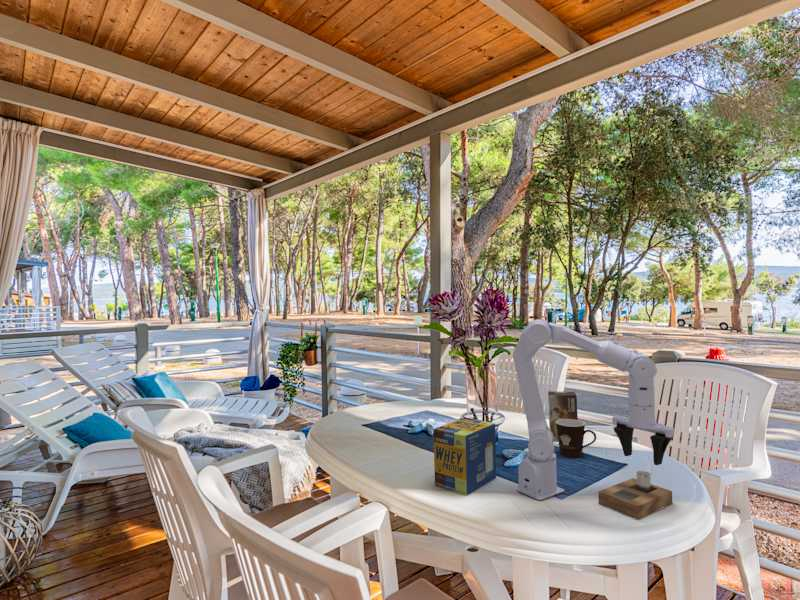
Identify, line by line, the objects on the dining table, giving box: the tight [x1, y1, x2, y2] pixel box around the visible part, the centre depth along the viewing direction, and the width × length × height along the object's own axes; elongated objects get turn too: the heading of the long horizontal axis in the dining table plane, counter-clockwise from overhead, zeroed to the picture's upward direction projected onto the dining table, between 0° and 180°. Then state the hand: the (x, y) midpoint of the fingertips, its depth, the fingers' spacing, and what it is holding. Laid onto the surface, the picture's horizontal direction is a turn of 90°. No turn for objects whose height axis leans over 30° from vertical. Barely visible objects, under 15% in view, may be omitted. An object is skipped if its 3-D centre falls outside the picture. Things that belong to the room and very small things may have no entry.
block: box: [597, 477, 673, 520], centre depth 115 cm, size 14×10×3 cm
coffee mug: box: [556, 419, 597, 459], centre depth 149 cm, size 12×9×10 cm
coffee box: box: [547, 390, 579, 442], centre depth 166 cm, size 9×6×16 cm
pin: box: [636, 470, 652, 493], centre depth 117 cm, size 3×3×6 cm
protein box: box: [433, 417, 497, 496], centre depth 131 cm, size 10×15×16 cm
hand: (642, 459), depth 117 cm, fingers open, 7 cm apart
